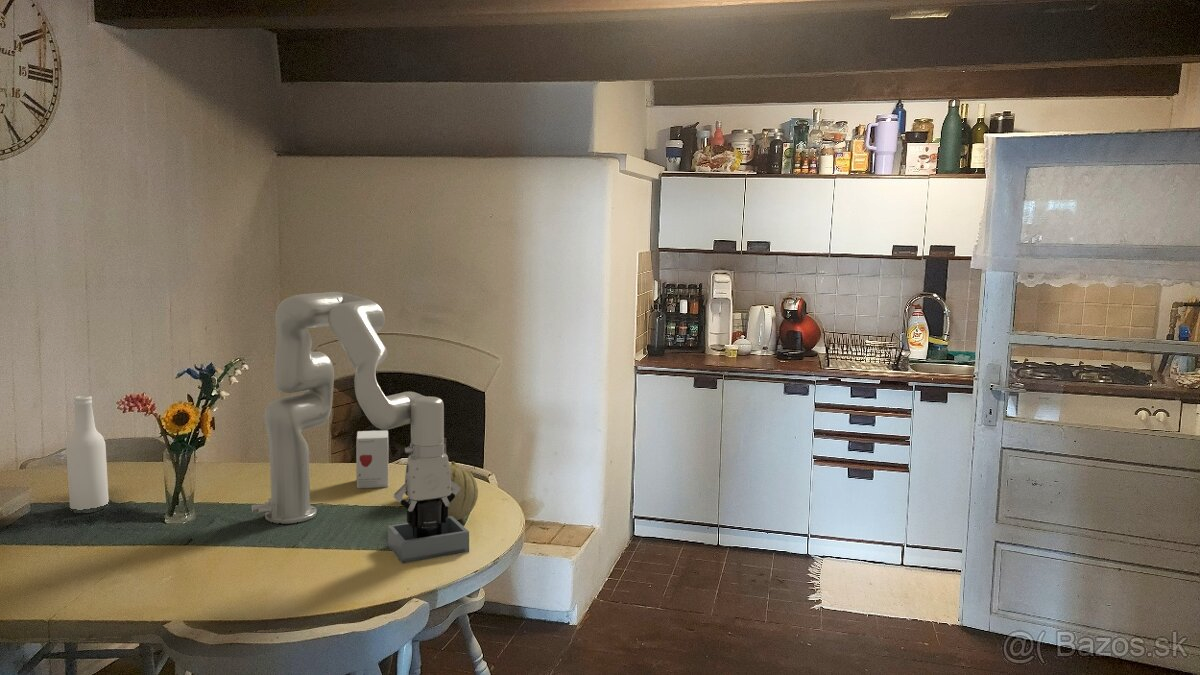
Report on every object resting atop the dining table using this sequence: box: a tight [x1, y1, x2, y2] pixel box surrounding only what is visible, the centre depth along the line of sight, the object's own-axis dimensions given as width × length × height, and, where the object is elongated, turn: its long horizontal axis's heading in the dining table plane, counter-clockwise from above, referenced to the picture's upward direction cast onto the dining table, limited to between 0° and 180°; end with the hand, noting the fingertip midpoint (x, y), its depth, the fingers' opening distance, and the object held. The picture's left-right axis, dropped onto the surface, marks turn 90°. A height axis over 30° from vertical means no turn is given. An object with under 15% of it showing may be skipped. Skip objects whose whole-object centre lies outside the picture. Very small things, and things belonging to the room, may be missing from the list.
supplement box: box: [355, 430, 389, 489], centre depth 254 cm, size 9×9×15 cm
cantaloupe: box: [448, 460, 479, 521], centre depth 224 cm, size 15×15×15 cm
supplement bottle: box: [413, 498, 442, 539], centre depth 204 cm, size 7×7×12 cm
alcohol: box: [65, 394, 110, 510], centre depth 226 cm, size 9×9×30 cm
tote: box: [387, 516, 470, 564], centre depth 205 cm, size 16×12×5 cm
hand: (427, 522), depth 205 cm, fingers closed on supplement bottle, 6 cm apart
